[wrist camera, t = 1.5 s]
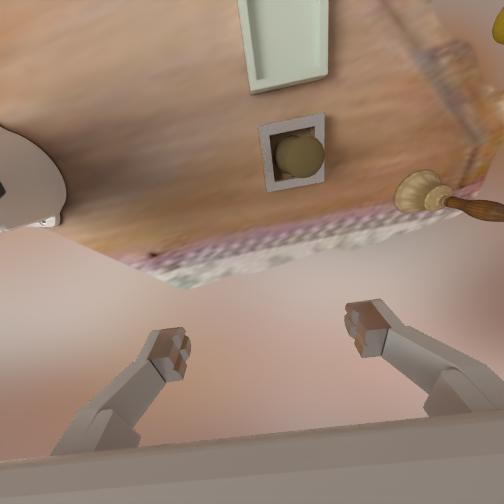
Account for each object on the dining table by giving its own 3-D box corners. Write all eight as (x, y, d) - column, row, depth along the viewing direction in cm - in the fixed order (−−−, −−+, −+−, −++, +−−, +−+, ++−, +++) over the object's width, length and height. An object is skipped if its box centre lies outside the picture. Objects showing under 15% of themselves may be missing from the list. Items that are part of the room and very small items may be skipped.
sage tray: (250, 94, 30) (250, 90, 28) (235, -13, 25) (234, -28, 23) (321, 79, 29) (327, 73, 27) (321, -35, 24) (329, -53, 22)
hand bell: (386, 192, 38) (469, 218, 24) (429, 159, 35) (550, 168, 21) (403, 220, 41) (485, 259, 27) (444, 193, 38) (558, 220, 24)
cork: (294, 126, 32) (314, 118, 23) (314, 156, 34) (340, 160, 25) (266, 153, 34) (274, 156, 24) (287, 180, 36) (302, 192, 27)
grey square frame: (266, 189, 37) (267, 192, 35) (257, 127, 32) (258, 126, 30) (319, 179, 36) (324, 181, 34) (319, 114, 31) (324, 112, 29)
